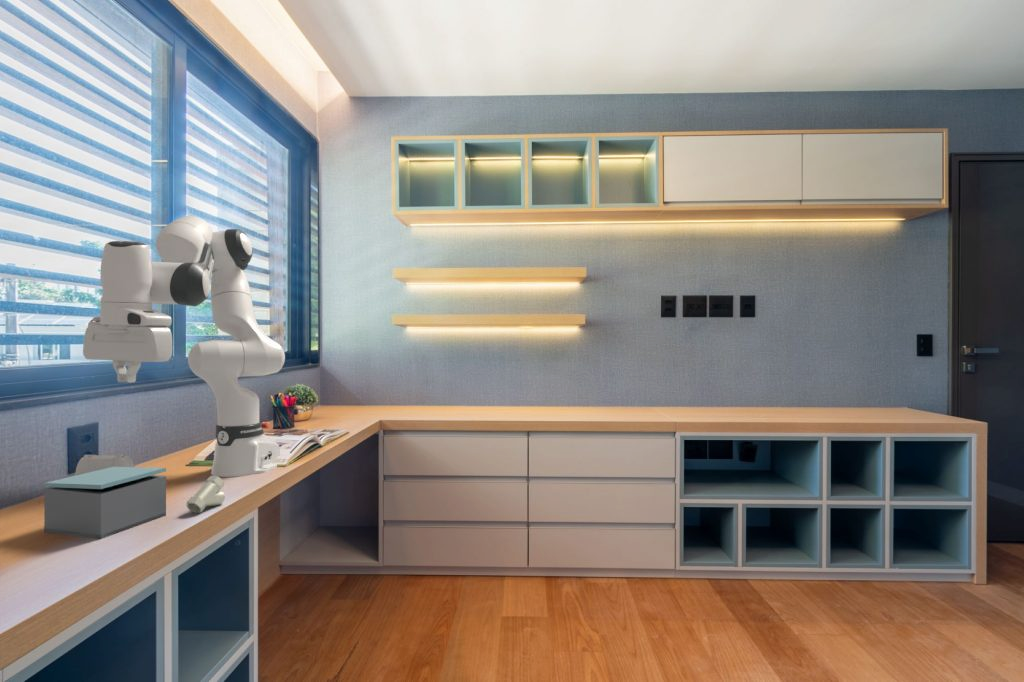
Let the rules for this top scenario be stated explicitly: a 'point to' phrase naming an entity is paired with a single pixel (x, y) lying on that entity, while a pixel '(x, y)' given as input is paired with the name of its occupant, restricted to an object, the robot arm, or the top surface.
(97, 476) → the lid
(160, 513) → the box
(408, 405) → the top surface
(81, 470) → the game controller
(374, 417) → the top surface
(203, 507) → the pipe fitting
